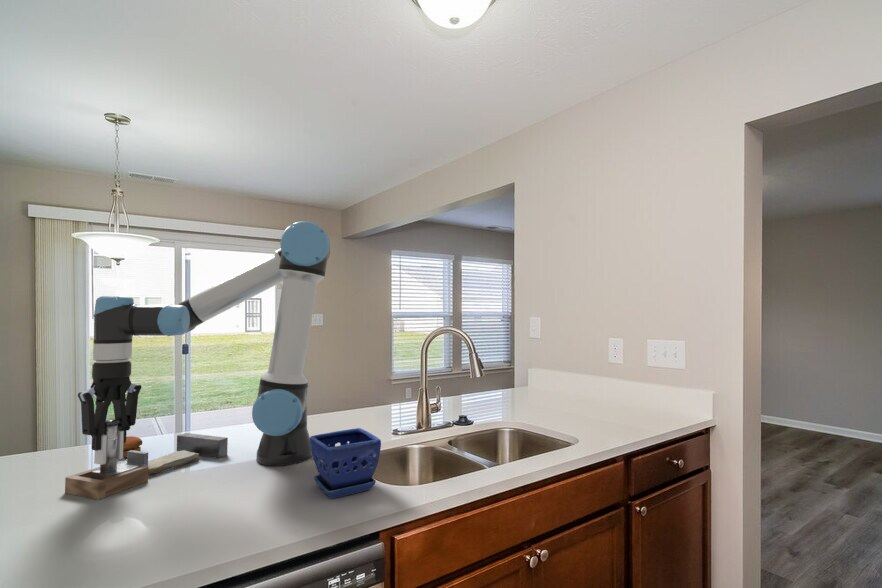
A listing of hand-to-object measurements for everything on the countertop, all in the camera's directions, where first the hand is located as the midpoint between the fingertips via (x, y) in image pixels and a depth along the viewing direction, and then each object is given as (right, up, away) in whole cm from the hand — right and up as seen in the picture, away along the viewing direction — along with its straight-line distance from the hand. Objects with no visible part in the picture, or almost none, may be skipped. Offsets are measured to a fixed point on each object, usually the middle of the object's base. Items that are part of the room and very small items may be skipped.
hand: (108, 460), depth 105 cm
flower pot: (+56, -6, -1) cm, 56 cm away
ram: (+1, -5, +2) cm, 6 cm away
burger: (-14, -8, +24) cm, 29 cm away
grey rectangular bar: (+9, -7, +24) cm, 27 cm away
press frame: (0, -6, 0) cm, 6 cm away
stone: (+6, -7, +15) cm, 18 cm away
